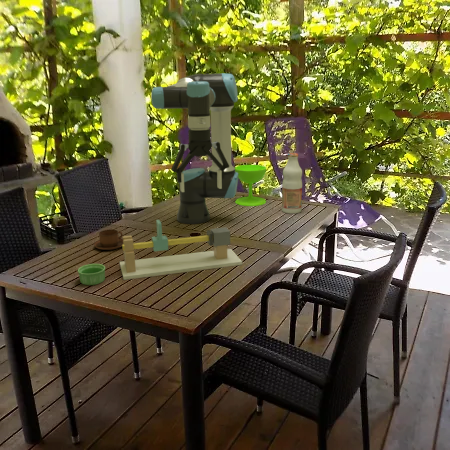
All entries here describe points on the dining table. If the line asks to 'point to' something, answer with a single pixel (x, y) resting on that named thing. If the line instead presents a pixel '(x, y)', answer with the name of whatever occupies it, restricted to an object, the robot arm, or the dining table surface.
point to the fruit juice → (292, 186)
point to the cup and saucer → (109, 240)
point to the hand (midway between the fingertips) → (201, 189)
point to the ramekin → (92, 274)
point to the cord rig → (179, 256)
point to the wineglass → (250, 183)
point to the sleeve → (160, 239)
